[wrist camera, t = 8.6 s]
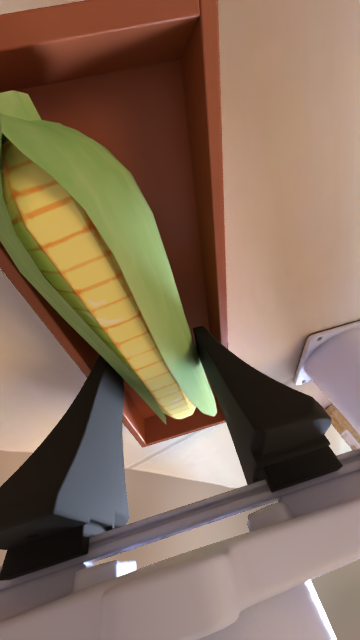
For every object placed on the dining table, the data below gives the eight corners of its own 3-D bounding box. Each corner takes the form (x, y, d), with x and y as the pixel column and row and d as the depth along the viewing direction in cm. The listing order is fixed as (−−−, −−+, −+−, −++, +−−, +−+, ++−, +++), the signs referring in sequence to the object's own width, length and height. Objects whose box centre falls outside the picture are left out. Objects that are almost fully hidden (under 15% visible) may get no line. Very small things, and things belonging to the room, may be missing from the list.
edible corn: (109, 97, 7) (91, 9, 3) (214, 391, 19) (235, 440, 16) (-28, 151, 7) (-194, 125, 3) (165, 410, 19) (174, 464, 16)
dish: (188, 41, 7) (217, -24, 5) (219, 394, 22) (230, 420, 20) (-70, 89, 7) (-180, 43, 4) (140, 417, 21) (142, 447, 19)
